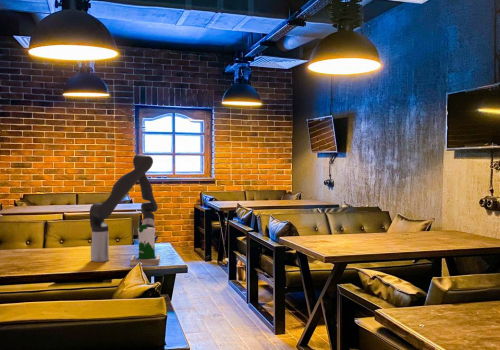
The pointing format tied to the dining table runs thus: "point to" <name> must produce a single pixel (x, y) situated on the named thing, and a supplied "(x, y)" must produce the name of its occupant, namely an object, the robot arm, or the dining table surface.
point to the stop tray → (145, 261)
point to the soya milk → (146, 242)
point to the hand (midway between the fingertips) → (147, 250)
